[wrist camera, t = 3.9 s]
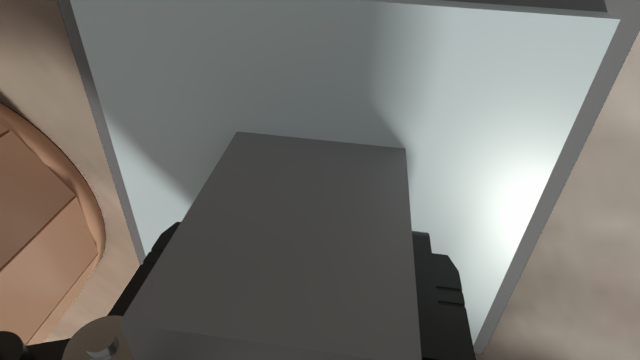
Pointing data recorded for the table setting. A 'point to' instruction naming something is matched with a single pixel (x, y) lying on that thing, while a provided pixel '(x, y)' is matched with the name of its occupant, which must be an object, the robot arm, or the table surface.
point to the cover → (328, 160)
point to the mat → (636, 15)
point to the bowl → (42, 231)
